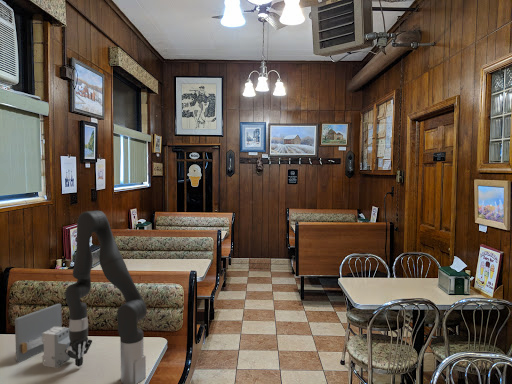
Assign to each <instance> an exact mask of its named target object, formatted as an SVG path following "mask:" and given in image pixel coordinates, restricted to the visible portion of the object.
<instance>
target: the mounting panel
mask: <svg viewBox="0 0 512 384" xmlns="http://www.w3.org/2000/svg"><path fill="white" fill-rule="evenodd" d="M62 318H63V317H62V304H61V303H55V304H53V305H50V306H48V307H45V308H42V309H38V310H36V311H33V312H30V313H28V314H24V315H22V316H20V317H17V318H14V326H15V327H14V332H15V334H14V335H15V337H14V338H15V362H16V363H21V362H23V361H25V360H27V359H29V358H32V357H34V356H36V355H38V354H41V353H42V352H43V353H44V343H43V344H41V345H39V346H37V347H34V348H32V349H30V350H28V351H27V352H25V353H21V344H22V343H25V342H28V341H30V340H32V339H35V338H37V337H40V336H42V335H43V334H42V333H44V332H45V331H47V330H49V329H51V328H53V327H54V326H55V327H63V326H62V325H63V324H62V323H63V322H62V320H63V319H62Z"/></svg>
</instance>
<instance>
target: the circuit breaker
mask: <svg viewBox="0 0 512 384" xmlns="http://www.w3.org/2000/svg"><path fill="white" fill-rule="evenodd" d="M42 334H43V336H42V342H43V343H44V351H43V355H42V356H41V357H42V358H41V359H42V367H44V366H45V367H50V368H56V369H59V368H60V367H61V366H62V365H64V364H65V363H67V362H69V361H70V360H71V359H72V358H71V357H70V356H69V355H67V354H66V353H65V350H68V348H69V347H70V346H69V344H70V339H69V327H65V326H62V327H55V326H54V327H53V328H51V329H49V330H47V331H45V332H44V333H42ZM43 339H44V341H43ZM72 351H73V350H72Z"/></svg>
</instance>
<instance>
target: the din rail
mask: <svg viewBox="0 0 512 384" xmlns="http://www.w3.org/2000/svg"><path fill="white" fill-rule="evenodd" d="M42 336H43V335H42ZM42 336H40V337H37V338H35V339H32V340H30V341H28V342H25V343H22V344H21V353H25V352H27V351H28V350H30V349H32V348H34V347H37V346H39V345H41V344H43V342H42ZM43 341H44V339H43Z"/></svg>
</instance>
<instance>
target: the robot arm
mask: <svg viewBox="0 0 512 384" xmlns="http://www.w3.org/2000/svg"><path fill="white" fill-rule="evenodd" d="M76 223H77V224H76V252H75V260H74V263H73V269H72V276H73V278H74V279H76V280H77V281H76V282H74V283H72V284H70V285H68V286H67V287H66V289H65V293H64V296H65V301H66V303H67V307H68V309H69V312H68V313H69V320H68V321H69V322H68V328H69V339H70V344H69V346H70V347H69V348H68V350H65V353H66V354H67V355H69V356H70V357H71V358H70V359H74V361H75V362H74V363H75V366H76V367H82V366H83V363H84V356H85V355H86V354H88V351H89V349H90V347H91V345H92V343H93V340H92V339H89V337H88V336H89V319H88V305H87V303H86V302H83V301H81V299H83V298H84V297H86V296H87V295H89V293H90V291H91V290H92V289H91V288H92V281H91V279H92V278H91V271H92V268H93V267H92V266H93V259H94V258H93V253H92V250H91V244H90V243H91V242H90V241H91V238H92V234H93V233H94V234H95V236H97V240H98V243H99V256H98V257H99V260H98V261H99V265H100V268H101V270H102V272H103V274H104V276H105V279H106V280H107V281H108V282H110V283H111V284H112V285H113V286H114V287H115V288H117V289H118V290H119V291H120V292H121V294H122V296H123V297H124V300H125V303H123V304H122V305H120V306H119V308H118V309H117V312H116V313H117V315H116V317H117V318H116V319H117V321H116V322H117V333H118V336H119V337H120V339H119V341H120V343H119V344H120V350H119V351H120V382H121V383H122V384H139V383H141V382H142V381H143V380H144V379H146V377H147V375H146V374H147V372H146V370H147V369H146V366H147V365H146V361H147V360H146V358H147V357H146V355H144V353H145V352H144V343H145V342H144V331H143V330H142V329H141V328H138V322H139V321H141V320H143V319H144V318H145V317H146V315H147V313H148V308H147V304H146V302H145V300H144V298H143V297H142V294H140V291H139V290H138V289H137V286H136V285H135V283H134V280H133V278H132V276H131V274H130V272H129V269H128V267H127V264H126V261H124V257H123V256H122V253H121V251H120V249H119V248H118V245H117V242H116V240H115V237H114V235H113V231H112V229H111V224H110V222H109V220H108V217H107V216H106V213H104V211H102V210H90V211H84V212H82V213H80V215H78V219H77V222H76ZM72 350H73V351H72Z"/></svg>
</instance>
